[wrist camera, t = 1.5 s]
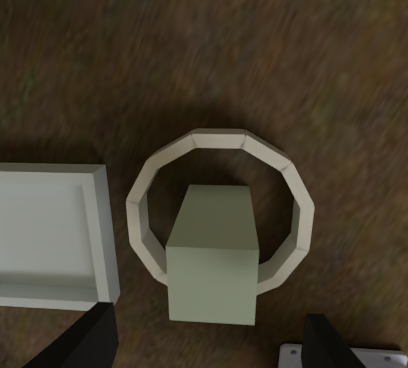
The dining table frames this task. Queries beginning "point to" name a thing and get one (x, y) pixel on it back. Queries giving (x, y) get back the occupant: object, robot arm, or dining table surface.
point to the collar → (222, 138)
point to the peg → (213, 257)
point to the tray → (56, 236)
